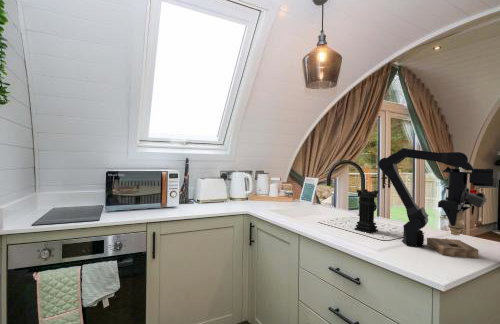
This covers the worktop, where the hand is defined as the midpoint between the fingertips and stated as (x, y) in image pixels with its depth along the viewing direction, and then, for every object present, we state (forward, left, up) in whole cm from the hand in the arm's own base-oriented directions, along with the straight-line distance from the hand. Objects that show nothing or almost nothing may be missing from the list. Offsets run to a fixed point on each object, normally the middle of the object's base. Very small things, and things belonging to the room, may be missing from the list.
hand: (455, 225), depth 103 cm
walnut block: (0, +2, -11) cm, 11 cm away
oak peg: (0, 0, -4) cm, 4 cm away
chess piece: (-26, +25, -11) cm, 38 cm away
